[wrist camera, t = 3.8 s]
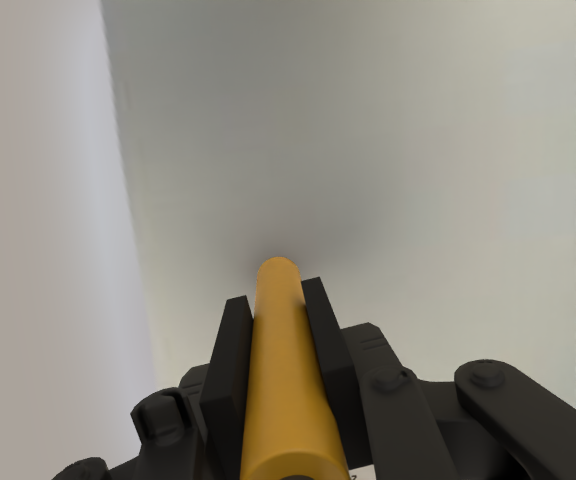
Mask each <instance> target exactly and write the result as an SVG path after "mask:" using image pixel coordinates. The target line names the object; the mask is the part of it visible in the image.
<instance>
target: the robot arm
mask: <svg viewBox="0 0 576 480" xmlns="http://www.w3.org/2000/svg"><path fill="white" fill-rule="evenodd" d="M300 282H301V286H302V290H303V295H304V299H305V303H306V307H307V312H308V316H309V320H310V325H311V329H312V333H313V337H314V342H315V346H316V350H317V354H318V359H319V363H320V367H321V371H322V375H323V379H324V383H325V387H326V391H327V395H328V399H329V403H330V407H331V411H332V413H333V415H334V417H335V419H336V422H337V426H338V430H339V434H340V438H341V442H342V446H343V450H344V454H345V458H346V462H347V466H348V470H353V469H357V468H361V467H365V466H369V465H373V464H374V470H375V475H376V480H576V409H574V408H573V407H572V406H570V405H569V404H567V403H566V402H564V401H563V400H561V399H560V398H559V397H557V396H556V395H554V394H553V393H551V392H550V391H548V390H547V389H545V388H544V387H543V386H541V385H540V384H538V383H537V382H535V381H534V380H532V379H531V378H529V377H528V376H527V375H525V374H524V373H522V372H521V371H519V370H518V369H516V368H515V367H513V366H511V365H509V364H507V363H505V362H501V361H496V360H488V359H486V360H484V359H482V360H476V361H471V362H467V363H465V364H463V365H462V366H460V367H459V368H458V369H457V370H456V371H455V375H454V381H455V382H429V381H423V380H420V379H417V376H416V375H415V374H414V373H413V371H412V370H410V369H408V368H406V367H404V366H402V364H401V363H400V361H399V359H398V358H397V356H396V355H395V353H394V351H393V350H392V348H391V346H390V345H389V344H388V341H387V340H386V338H385V337H384V335H383V333H382V332H381V330H380V328H379V327H377V326H375V325H373V324H371V323H369V322H368V323H364V324H360V325H356V326H352V327H348V328H344V329H340V327H339V325H338V322H337V320H336V317H335V315H334V312H333V309H332V307H331V304H330V302H329V299H328V297H327V294H326V292H325V289H324V286H323V284H322V281H321V279H320V277H316V278H312V279H308V280H304V281H300ZM252 331H253V317H252V314H251V310H250V307H249V303H248V300H247V296H246V295H244V296H240V297H236V298H232V299H228V300H227V301H226V305H225V309H224V312H223V316H222V320H221V323H220V327H219V331H218V334H217V338H216V342H215V345H214V349H213V353H212V356H211V360H210V363H208V364H204V365H200V366H196V367H192V368H191V369H190V370H189V371H188V372H187V373H186V374H185V375H184V376H183V377H182V379H181V382H180V384H179V387H178V388H177V387H172V388H167V389H163V390H160V391H158V392H155V393H153V394H151V395H149V396H148V397H146V398H144V399H143V400H142V401H140V402H139V403H138V404H137V405H136V406H135V407H134V409H133V410H132V412H131V413H130V415H131V417H132V420H133V423H134V425H135V428H136V430H137V433H138V436H139V438H140V441H141V444H142V445H141V449H140V452H139V456H137V457H135V458H134V459H132V460H130V461H127V462H125V463H123V464H121V465H119V466H117V467H115V468H112V469H110V470H108V467H107V465H106V463H105V461H104V460H103V459H101V458H100V457H91V458H87V459H83V460H80V461H77V462H75V463H74V464H71V465H69V466H67V467H66V468H65V469H64V470H63V471H61V472H60V473H58V474H57V475H56V476H55V477H54V478H53V479H52V480H240V469H241V457H242V446H243V434H244V423H245V411H246V400H247V388H248V377H249V365H250V354H251V342H252Z"/></svg>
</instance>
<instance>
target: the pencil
mask: <svg viewBox="0 0 576 480" xmlns="http://www.w3.org/2000/svg"><path fill="white" fill-rule="evenodd" d="M300 281H302V280H301V276H300V272H299V269H298V267H297V266H296V265H295V263H294V262H292V261H291V260H289V259H287V258H284V257H273V258H270V259H268V260H267V261H265V262H264V263H263V264H262V265H261V267H260V268H259V271H258V274H257V285H256V297H255V308H254V319H253V331H252V342H251V354H250V365H249V377H248V388H247V400H246V411H245V423H244V434H243V446H242V457H241V469H240V480H351V478H350V474H349V470H348V466H347V462H346V458H345V454H344V450H343V446H342V442H341V438H340V434H339V430H338V426H337V422H336V419H335V417H334V415H333V413H332V411H331V407H330V403H329V399H328V395H327V391H326V387H325V383H324V379H323V375H322V371H321V367H320V363H319V359H318V354H317V350H316V346H315V342H314V337H313V333H312V329H311V325H310V320H309V316H308V312H307V307H306V303H305V299H304V295H303V290H302V286H301V282H300Z"/></svg>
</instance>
